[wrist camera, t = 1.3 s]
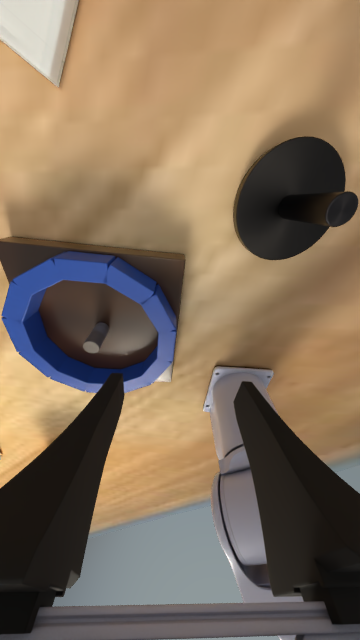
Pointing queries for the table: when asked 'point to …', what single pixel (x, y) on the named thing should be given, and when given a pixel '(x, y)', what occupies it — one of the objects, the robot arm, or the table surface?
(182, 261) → the platform
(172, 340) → the ring
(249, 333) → the table surface
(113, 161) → the table surface
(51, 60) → the hard drive
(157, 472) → the table surface
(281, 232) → the post
